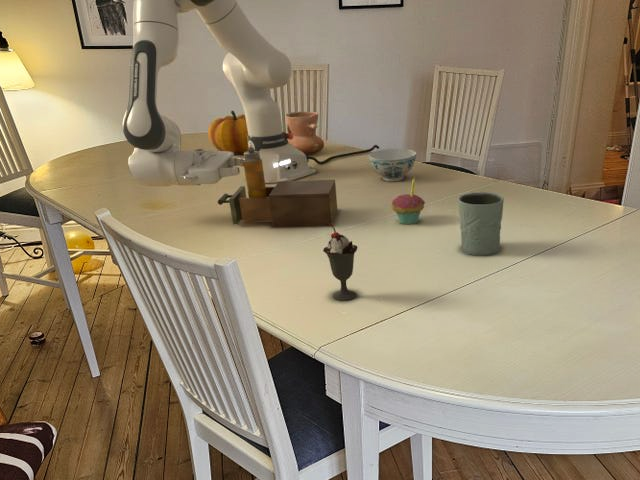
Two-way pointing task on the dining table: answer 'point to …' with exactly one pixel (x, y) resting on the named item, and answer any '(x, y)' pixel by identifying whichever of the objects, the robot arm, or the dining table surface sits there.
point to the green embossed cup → (480, 222)
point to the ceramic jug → (304, 132)
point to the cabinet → (303, 203)
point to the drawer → (248, 206)
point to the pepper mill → (254, 174)
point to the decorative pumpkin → (229, 133)
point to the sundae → (341, 263)
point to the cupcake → (408, 206)
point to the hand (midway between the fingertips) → (243, 166)
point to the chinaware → (392, 163)
